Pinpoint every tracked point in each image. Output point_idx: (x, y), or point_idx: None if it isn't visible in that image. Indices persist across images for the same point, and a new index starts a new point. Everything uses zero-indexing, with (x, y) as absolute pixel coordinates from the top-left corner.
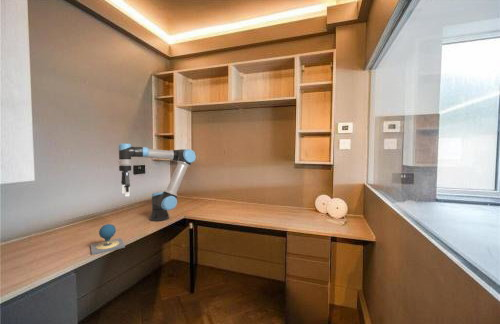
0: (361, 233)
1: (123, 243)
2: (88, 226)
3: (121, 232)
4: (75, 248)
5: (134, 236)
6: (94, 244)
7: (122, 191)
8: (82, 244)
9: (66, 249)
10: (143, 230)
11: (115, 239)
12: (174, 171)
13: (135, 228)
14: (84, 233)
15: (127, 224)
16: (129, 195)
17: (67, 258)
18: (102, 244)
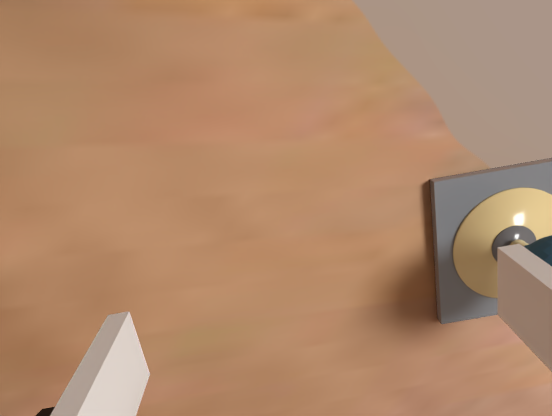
0: None
1: (547, 163)
2: (40, 385)
3: (280, 184)
4: (429, 373)
5: (419, 97)
6: (457, 306)
7: (134, 401)
8: (388, 356)
9: (418, 403)
10: (314, 27)
11: (442, 212)
12: None
13: (228, 89)
14: (191, 380)
15: (85, 150)
16: (529, 252)
17: (540, 376)
18: (493, 270)
